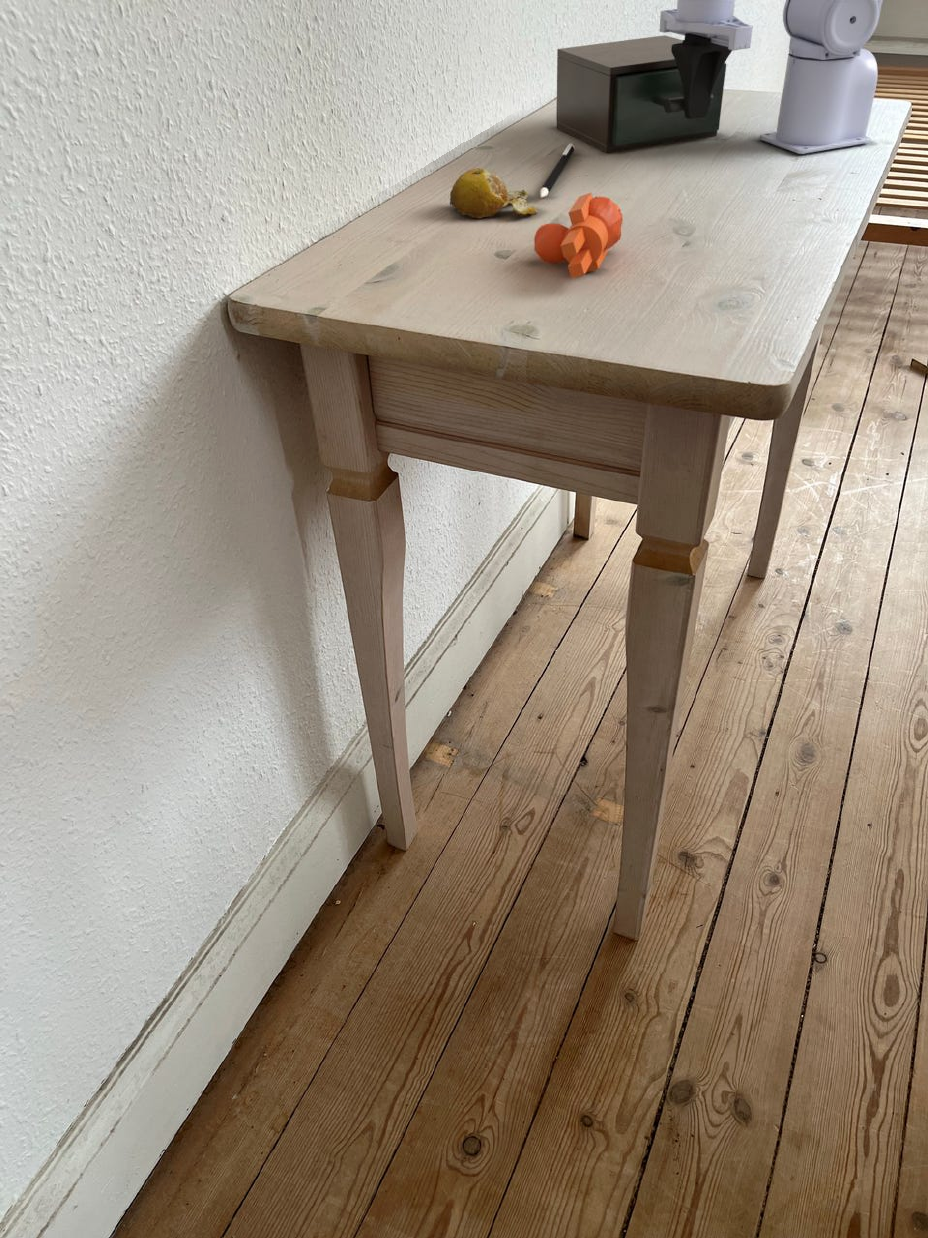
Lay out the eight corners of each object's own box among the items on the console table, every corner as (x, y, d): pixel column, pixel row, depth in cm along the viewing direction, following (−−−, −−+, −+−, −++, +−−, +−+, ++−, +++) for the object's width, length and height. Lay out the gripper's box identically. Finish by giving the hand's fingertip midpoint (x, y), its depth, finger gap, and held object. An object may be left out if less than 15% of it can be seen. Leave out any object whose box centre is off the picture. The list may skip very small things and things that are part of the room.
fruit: (540, 218, 91) (540, 178, 88) (455, 226, 90) (453, 186, 88) (524, 193, 97) (524, 155, 95) (445, 201, 96) (443, 162, 94)
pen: (576, 150, 108) (576, 139, 108) (545, 201, 94) (545, 189, 94) (568, 150, 108) (569, 139, 108) (536, 201, 95) (536, 189, 94)
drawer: (739, 137, 106) (748, 69, 102) (634, 154, 103) (639, 85, 99) (664, 108, 118) (669, 46, 114) (568, 123, 115) (569, 59, 111)
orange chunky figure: (595, 218, 72) (622, 174, 81) (507, 245, 76) (542, 200, 84) (612, 281, 75) (637, 232, 84) (527, 305, 78) (558, 254, 87)
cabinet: (716, 135, 111) (726, 51, 105) (606, 153, 107) (610, 67, 102) (659, 112, 121) (665, 34, 115) (556, 128, 117) (557, 48, 112)
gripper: (638, -36, 98) (630, 109, 107) (713, -24, 87) (698, 136, 96) (697, -43, 99) (685, 100, 108) (778, -32, 89) (758, 125, 98)
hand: (695, 116), depth 102 cm, fingers closed, pressing on drawer
